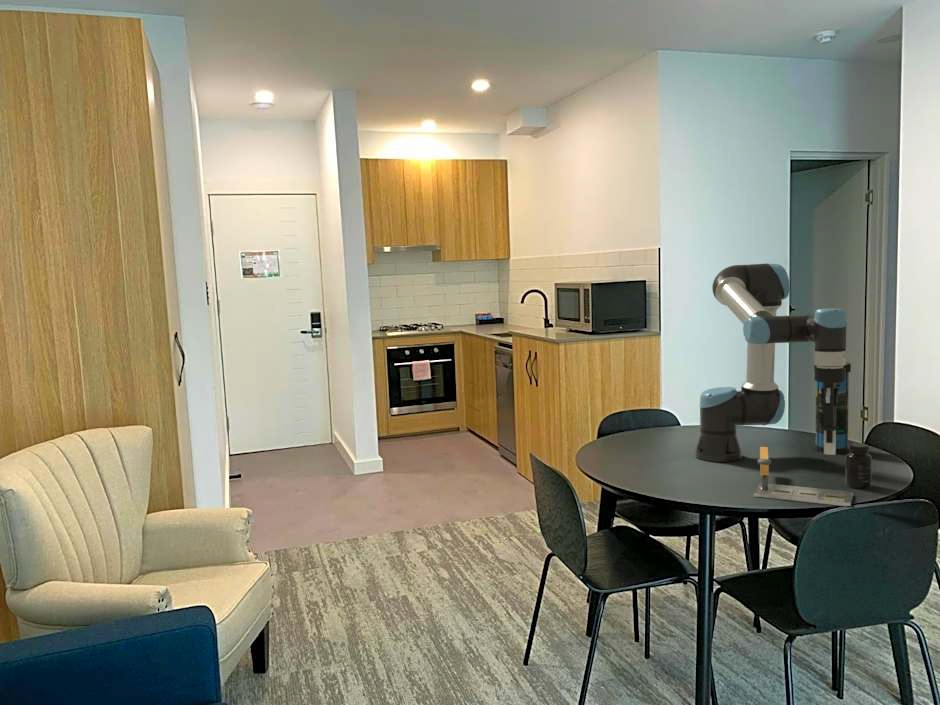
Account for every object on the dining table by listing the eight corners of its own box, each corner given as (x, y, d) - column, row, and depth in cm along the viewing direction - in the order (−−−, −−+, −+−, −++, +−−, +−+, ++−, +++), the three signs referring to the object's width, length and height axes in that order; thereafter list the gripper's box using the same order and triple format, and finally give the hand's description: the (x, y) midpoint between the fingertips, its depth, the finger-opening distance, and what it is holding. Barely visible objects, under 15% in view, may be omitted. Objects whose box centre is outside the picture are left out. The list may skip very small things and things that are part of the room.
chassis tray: (753, 496, 205) (753, 478, 205) (760, 486, 215) (760, 469, 214) (850, 506, 193) (850, 488, 193) (852, 495, 203) (852, 477, 202)
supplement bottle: (840, 483, 214) (840, 442, 213) (862, 481, 215) (863, 441, 214) (854, 490, 207) (854, 448, 206) (877, 488, 208) (878, 446, 207)
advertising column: (839, 445, 259) (839, 360, 256) (856, 452, 248) (857, 364, 245) (807, 447, 259) (807, 362, 256) (823, 454, 247) (824, 366, 244)
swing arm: (771, 475, 206) (771, 462, 206) (757, 474, 207) (757, 461, 207) (770, 456, 226) (770, 444, 226) (757, 456, 228) (757, 444, 227)
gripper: (843, 370, 188) (843, 460, 190) (847, 364, 199) (847, 449, 201) (811, 369, 192) (811, 458, 194) (817, 363, 203) (817, 447, 205)
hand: (829, 453), depth 198 cm, fingers closed
